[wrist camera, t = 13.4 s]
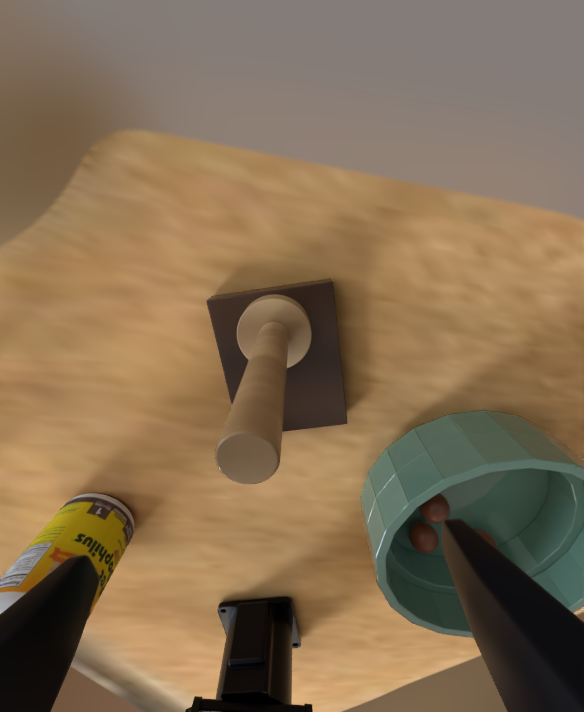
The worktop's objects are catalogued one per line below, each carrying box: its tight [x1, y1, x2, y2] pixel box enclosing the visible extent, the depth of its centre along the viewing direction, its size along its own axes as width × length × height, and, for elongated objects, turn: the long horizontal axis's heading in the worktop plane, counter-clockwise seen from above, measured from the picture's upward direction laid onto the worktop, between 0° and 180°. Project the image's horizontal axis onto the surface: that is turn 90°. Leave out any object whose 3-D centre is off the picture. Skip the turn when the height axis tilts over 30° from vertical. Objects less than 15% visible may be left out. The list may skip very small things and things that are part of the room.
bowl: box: [361, 410, 584, 638], centre depth 21 cm, size 14×14×6 cm
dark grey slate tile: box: [207, 279, 347, 432], centre depth 20 cm, size 9×7×1 cm
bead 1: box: [418, 493, 450, 523], centre depth 22 cm, size 2×2×2 cm
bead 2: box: [408, 521, 439, 553], centre depth 23 cm, size 2×2×2 cm
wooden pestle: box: [215, 294, 312, 484], centre depth 13 cm, size 4×4×11 cm
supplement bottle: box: [0, 493, 135, 620], centre depth 20 cm, size 6×6×10 cm
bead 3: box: [474, 529, 497, 549], centre depth 23 cm, size 2×2×2 cm
